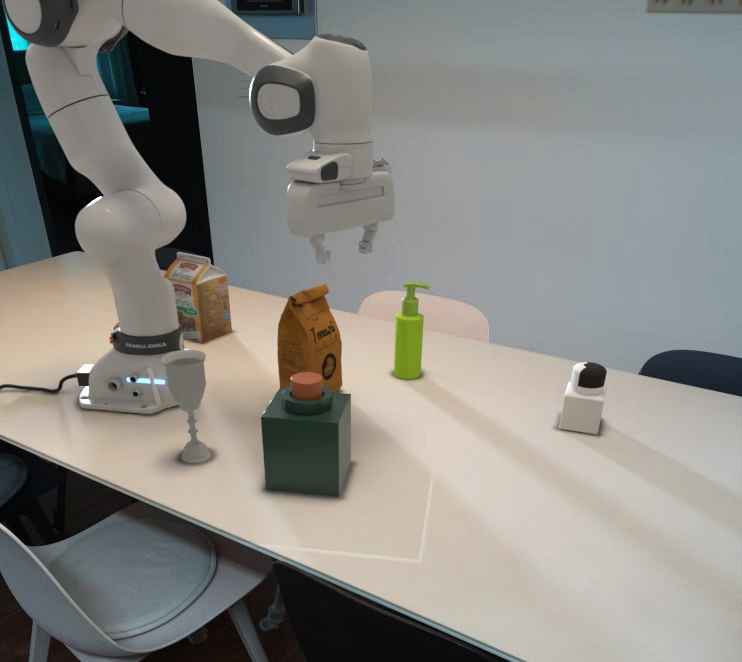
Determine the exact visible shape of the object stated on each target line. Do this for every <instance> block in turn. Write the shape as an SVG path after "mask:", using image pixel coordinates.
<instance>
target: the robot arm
mask: <svg viewBox="0 0 742 662" xmlns="http://www.w3.org/2000/svg"><path fill="white" fill-rule="evenodd" d="M1 4H2V7H3V8H2V9H3V11H4V14H5V17H6V18H7V21H8V22H9V24H10V26H11V27H12V29H13V30H14V31H15V32H16V34H17V35H18V36H19V37H20V38H21V39H23V40H25V41H26V42H28V43H30V44H29V45H28V46H27V48H26V51H25V65H26V67H27V71H28V74H29V77H30V80H31V84H32V87H33V89H34V91H35V94H36V97H37V99H38V101H39V104H40V107H41V108H42V110H43V113H44V114H45V117H46V119H47V120H48V123H49V125H50V127H51V128H52V129H51V130H52V131H53V133H54V135H55V136H56V139H57V141H58V143H59V145H60V146H61V149H62V151H63V153H64V155H65V157H66V159H67V161H68V163H69V165H71V167H72V168H73V169H74V170H75V171H76V172H77V173H78V174H81V175H83V176H84V177H85V178H87V179H88V180H89V181H91V183H93V184H94V186H95V187H96V188H97V189H98V190H99V191H100V192H101V194H102V196H101V195H100V196H99V197H97V198H95V199H94V200H92V201H91V202H89V203H88V204H87V205H86V206H84V207H83V208H82V209H81V210H79V212H78V214H77V215H76V218H75V221H74V231H75V237H76V239H77V242H78V244H79V246H80V247H81V249H82V251H84V253H85V254H86V255H87V256H88V257H90V258H91V259H92V260H93V261H95V262H96V263H98V265H99V266H100V268H101V269H102V271H103V273H104V274H105V276H106V278H107V281H108V283H109V286H110V288H111V291H112V296H113V299H114V304H115V308H116V315H117V321H118V322H117V323H116V324H115V325H114V326H113V330H112V331H111V332H110V336H109V338H108V340H109V344H110V345H112V347H111V348H110V349H109V350H108V351H106V353H104V354H103V355H102V356H100V358H98V360H97V361H96V362H94V364H91V363H90V364H87V363H85V364H83V365H82V366H81V367H80V368H79V369H78V370H77V371H76V372H75V373H71V374H68V375H66V376H64V377H62V378H61V379H60V380H59V382H58V385H57V388H47V387H40V386H31V385H20V384H13V383H3V384H0V390H2V389H7V388H8V389H14V390H15V389H16V390H23V391H36V392H43V393H49V394H56V393H59V392H60V391H62V389H63V386H64V383H65V382H66V381H67V380H71V379H75V378H76V379H77V383H78V387H84V388H83V389H82V390H81V392H80V394H79V398H78V402H79V403H78V404H79V406H80V408H82V409H87V410H99V411H109V412H119V413H120V412H121V413H130V414H140V415H141V414H142V415H154V414H156V413H159V412H161V411H162V410H164V409H169V408H173V407H176V406H179V405H178V403H177V402H176V401H175V399H174V398H173V396H172V394H171V392H170V390H169V388H168V381H167V374H166V367H165V365H164V364H163V362H162V361H161V359H162V357H163V356H164V355H166V354H168V353H171V352H174V351H180V350H191V349H190V348H185V339H184V338H183V333H182V329H181V325H180V324H179V322H178V314H177V306H176V298H175V290H174V287H173V285H172V283H171V282H170V281H169V280H168V279H167V278H165V277H164V275H163V273H162V271H161V269H160V266H159V263H158V261H157V257H156V250H158V249H160V248H162V247H165V246H168V245H169V244H170V243H172V242H173V241H174V240H176V238H177V237H178V236H179V235H180V234H181V232H182V231H183V230H184V228H185V226H186V223H187V211H186V207H185V203H184V202H183V199H182V198H181V197H180V196H179V194H178V193H177V192H175V190H173V189H172V188H170V187H169V186H167V185H165V184H164V183H163V182H162V180H160V179H159V177H158V176H157V175H156V174H155V173H154V171H153V170H152V169H151V168H150V166H149V165H148V164H147V162H146V161H145V160H144V158H143V157H142V156H141V154H140V153H139V151H138V150H137V149H136V147H135V145H134V143H133V141H132V140H131V138H130V136H129V134H128V132H127V130H126V128H125V126H124V124H123V122H122V119H121V118H120V116H119V114H118V111H117V109H116V107H115V105H114V103H113V100H112V99H111V97H110V94H109V92H108V90H107V88H106V86H105V84H104V81H103V80H102V78H101V75H100V72H99V70H98V67H97V56H98V53H99V54H103V55H109V54H110V53H111V52H112V51H113V50H114V48H115V46H116V45H117V43H118V42H119V41H120V40H122V39H123V38H124V37H125V36H126V35H127V34H128V33H129V32H131V33H132V34H133V35H135V36H136V37H138V38H139V39H140V40H141V41H143V42H144V43H146V44H148V45H150V46H151V47H154V48H156V49H158V50H160V51H163V52H165V53H167V54H170V55H173V56H179V57H187V58H197V59H205V60H210V61H214V62H215V61H216V62H220V63H223V64H226V65H229V66H232V67H233V68H236V69H237V70H239V71H241V72H242V73H244V74H245V75H247V76H248V77H250V78H251V79H252V80H251V83H250V86H249V95H248V96H249V97H248V99H249V106H250V111H251V114H252V116H253V118H254V120H255V122H256V123H257V125H258V126H259V128H261V129H262V130H263V131H264V132H265V133H268V134H270V135H272V136H276V137H282V138H288V137H289V138H290V137H294V136H302V135H309V134H311V136H312V148H311V149H310V150H308V151H307V152H306V153H304V154H302V155H301V156H299V157H298V158H296V159H294V160H292V161H291V162H289V163H288V164H287V165H286V173H287V174H286V175H287V177H288V179H289V180H292V181H291V182H290V184H289V185H288V187H287V192H286V220H287V227H288V229H289V231H290V232H291V234H292V235H294V236H298V237H301V238H302V237H303V238H308V241H309V243H310V245H311V246H312V248H313V250H314V252H315V261H316V263H317V264H319V265H325V264H328V263H330V262H331V251H330V250H326V248H325V245H324V242H325V241H326V234H331V233H336V232H340V231H344V230H349V229H354V228H359V227H362V229H363V230H364V231H363V236H362V239H361V240H358V252H359V253H360V254H364V255H366V254H371V253H372V252H373V242H374V241H375V238H376V236H377V233H378V231H379V223H383V222H388V221H392V219H394V216H395V213H396V197H395V186H394V180H393V177H392V166H391V165H390V164H389V162H388V161H387V160H386V159H385V158H383V157H378V158H376V159H373V158H374V157H373V156H374V155H373V148H374V146H373V144H374V141H373V133H372V130H371V117H372V113H373V105H374V96H373V94H374V93H373V92H374V91H373V76H372V65H371V64H372V63H371V58H370V53H369V50H368V48H367V47H366V46H365V44H364V43H363V42H362V41H360V40H358V39H355V38H353V37H349V36H345V35H344V36H343V35H337V34H333V33H319V34H316V35H315V36H314V37H313V38H312V39H311V40H310V41H309V43H308V44H307V45H306V46H304V47H303V48H302V49H300V50H299V51H297V52H295V53H293V52H292V51H290V50H289V49H287V48H286V47H285V46H283V45H281V44H280V43H278V42H277V41H275V40H274V39H273V38H271V37H269V36H268V35H267V34H265V33H264V32H262V31H260V30H259V29H258V28H256V27H254V25H252V24H250V23H248V21H245V20H244V19H242V18H241V17H240V16H238V15H237V14H235V13H234V12H233V11H232V10H230V9H229V7H227V6H226V5H224V4H223V3H222V2H220V1H219V0H1Z"/></svg>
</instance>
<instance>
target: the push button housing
mask: <svg viewBox="0 0 742 662" xmlns="http://www.w3.org/2000/svg"><path fill="white" fill-rule="evenodd" d="M322 393H323V395H322V397H321V398H318V399H315V400H298V399H295V398H293V397H292V391H291V386H290V387H288V388H285V389H280V388H278V390H277V391H276V392H275V394H274V396H273V397H272V399H271V400H270V402H269V403H268V405H267V407H266V408H265V410H264V411H263V413H262V414H261V416H260V425H261V438H262V439H261V440H262V454H263V455H262V456H263V469H264V485H265V490H266V491H274V492H285V493H296V494H307V495H318V496H329V497H340V496H341V493H342V489H343V486H344V485H345V481H346V478H347V475H348V472H349V470H350V466H351V464H352V394H351V393H345V392H344V393H343V392H335V393H333V392H332V391H331V390H330V389H329V388H328V387H325V386H322Z"/></svg>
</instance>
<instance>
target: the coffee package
mask: <svg viewBox="0 0 742 662" xmlns="http://www.w3.org/2000/svg"><path fill="white" fill-rule="evenodd" d="M328 294H330V290H329V287H328V285H327V284H326V283H323V284H319V285H317V286H313V287H310V288H306V289H302V290H300V291H298V292H295V293H294V294H292V295H290V296H288V299H287V301H286V304H285V306H284V309H283V310H282V311H283V312H282V313H281V315H280V317H279V321H278V327H277V343H276V345H277V366H278V379H279V380H278V381H279V389H285V388H288V387H290V386H291V377H292V376H293V375H294V374H297V373H301V372H313V373H317V374H319V375H321V376H322V386H325V387H328V388H329V389H330V390H331V391H332V392H333V393H338V392H339V391H340V390H341V388H342V386H343V369H342V368H343V367H342V354H343V353H342V352H343V350H342V349H343V342H342V337H341V332H340V329H339V327H338V324H337V321H336V319H335V316H334V315H333V313H332V312H331V310H330V306H329V303H328V299H327V298H326V297H325V296H326V295H328Z"/></svg>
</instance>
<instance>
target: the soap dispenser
mask: <svg viewBox="0 0 742 662" xmlns="http://www.w3.org/2000/svg"><path fill="white" fill-rule="evenodd" d="M431 287H432V286H431V284H428V283H424V282H422V281H421V282H420V281H405V282H404V284H403V288H406V296H405V297H403V298H402V302H401V312H398V313H396V314H395V328H394V329H395V332H394V359H393V361H394V362H393V364H394V365H393V375H394V376H395V377H397V378H399V379H403V380H413V379H417V378H420V376H421V374H422V373H421V372H422V357H423V356H422V355H423V354H422V353H423V340H424V339H423V337H424V336H423V335H424V318H425V316H424V314H423V313H420V312H419V302H420V300H419V298H418V297H416V289H418V288H419V289H425V290H429V289H431Z"/></svg>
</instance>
